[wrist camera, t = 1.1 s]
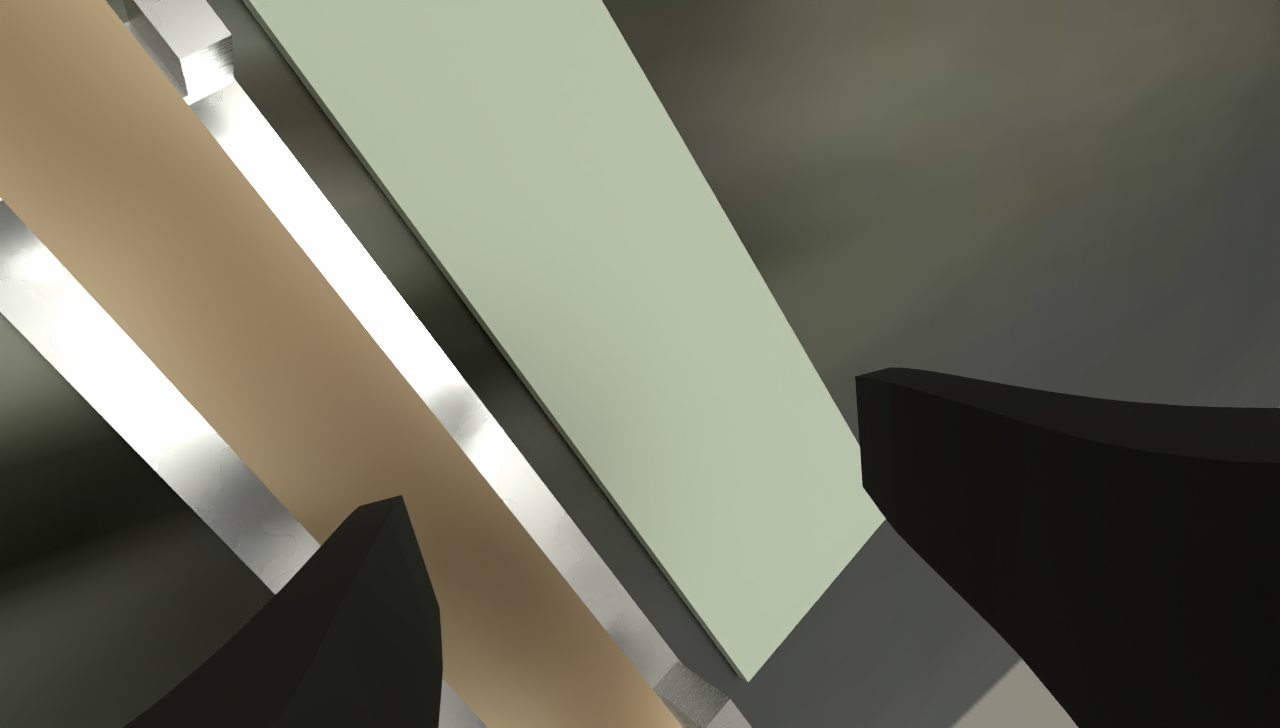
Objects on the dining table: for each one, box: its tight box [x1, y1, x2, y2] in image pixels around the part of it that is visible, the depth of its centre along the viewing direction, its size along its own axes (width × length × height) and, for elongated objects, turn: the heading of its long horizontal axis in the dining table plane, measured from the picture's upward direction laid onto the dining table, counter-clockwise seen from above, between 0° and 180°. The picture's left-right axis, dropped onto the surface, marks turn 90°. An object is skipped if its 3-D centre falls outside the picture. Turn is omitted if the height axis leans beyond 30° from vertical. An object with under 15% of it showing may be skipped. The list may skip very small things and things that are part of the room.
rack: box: [0, 0, 752, 728], centre depth 17 cm, size 7×23×6 cm, turn 36°
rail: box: [0, 0, 683, 728], centre depth 15 cm, size 3×24×3 cm, turn 36°
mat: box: [242, 0, 886, 682], centre depth 23 cm, size 9×28×1 cm, turn 36°
